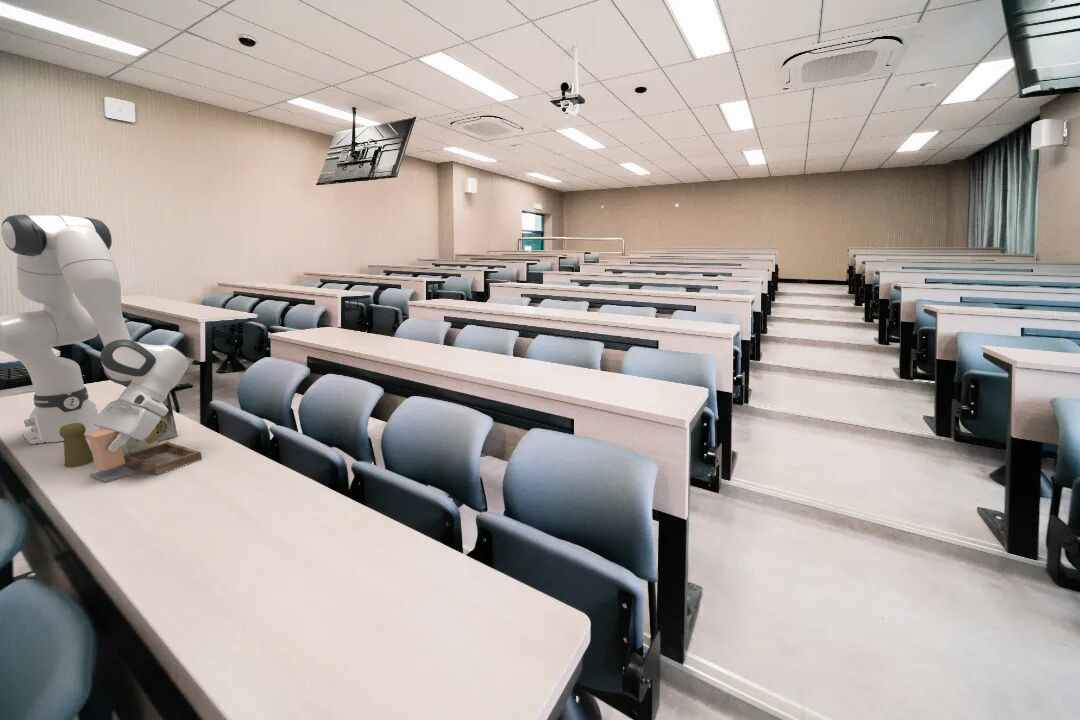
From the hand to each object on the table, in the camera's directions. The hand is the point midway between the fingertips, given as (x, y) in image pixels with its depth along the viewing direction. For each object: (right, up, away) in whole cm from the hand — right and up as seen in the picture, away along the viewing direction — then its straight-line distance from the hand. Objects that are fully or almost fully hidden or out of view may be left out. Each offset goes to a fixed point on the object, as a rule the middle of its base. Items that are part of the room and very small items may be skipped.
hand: (103, 448), depth 126 cm
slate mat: (0, -7, +2) cm, 7 cm away
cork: (-15, -6, +10) cm, 19 cm away
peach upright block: (0, -5, +2) cm, 5 cm away
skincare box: (-5, -4, +19) cm, 20 cm away
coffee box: (-7, -2, +26) cm, 27 cm away
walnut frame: (+8, -5, +10) cm, 14 cm away
